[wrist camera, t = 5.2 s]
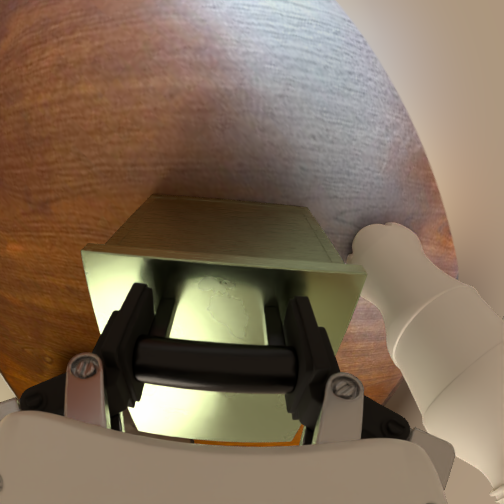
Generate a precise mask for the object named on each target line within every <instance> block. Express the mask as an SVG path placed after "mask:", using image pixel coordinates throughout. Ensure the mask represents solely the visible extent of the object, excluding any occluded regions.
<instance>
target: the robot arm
mask: <svg viewBox="0 0 504 504" xmlns="http://www.w3.org/2000/svg"><path fill="white" fill-rule="evenodd" d="M154 316H155V313H154V303H153V293H152V288H150V287H148V285H147V284H145V283H136V282H135V283H133V285H132V287H131V289H130V291H129V292H128V294H127V296H126V298H125V300H124V302H123V304H122V306H121V308H120V310H119V311H118V310H114V311H113V312H112V314H111V316H110V318H109V320H108V322H107V323H106V325H105V327H104V329H103V331H102V333H101V335H100V337H99V339H98V341H97V343H96V346H95V348H94V350H93V352H92V353H89V352H84V353H79V354H77V355H75V356H74V357H72V358H71V359H70V361H69V362H68V365H67V372H66V373H64V374H61V375H59V376H57V377H54V378H52V379H49V380H47V381H45V382H42V383H40V384H37V385H35V386H32V387H30V388H28V389H27V390H25V391H24V393H23V394H22V396H21V398H20V399H17V398H16V397H15V398H12V399H9V400H6V401H3V402H0V504H448V503H447V500H446V496H445V493H444V490H445V487H446V484H447V481H448V478H449V475H450V472H451V468H452V465H453V462H454V458H455V450H454V447H453V446H452V444H450V443H449V442H447V441H445V440H443V439H440V438H438V437H436V436H434V435H431V434H429V433H427V432H424V431H422V430H420V429H418V428H416V427H415V428H414V429H411V428H410V426H409V424H408V422H407V421H406V419H405V418H403V417H402V416H400V415H399V414H397V413H395V412H393V411H391V410H389V409H388V408H386V407H384V406H382V405H380V404H379V403H377V402H375V401H373V400H372V399H370V398H368V397H366V396H365V395H364V388H363V385H362V383H361V381H360V380H359V379H358V378H357V377H355V376H354V375H352V374H349V373H343V372H340V369H339V366H338V363H337V360H336V357H335V355H334V352H333V349H332V346H331V343H330V340H329V337H328V334H327V331H326V329H325V328H324V327H318V324H317V321H316V318H315V315H314V312H313V309H312V306H311V303H310V300H309V298H308V297H307V296H294V298H293V299H289V302H288V306H287V311H286V315H285V319H284V323H283V331H284V337H285V342H286V346H293V347H294V348H295V350H296V353H297V357H298V379H297V384H296V387H295V390H294V391H293V393H291V394H285V401H286V408H287V412H288V413H292V420H299V422H300V423H301V424H303V425H304V428H303V432H302V436H301V440H300V444H299V446H281V447H235V446H215V445H203V444H192V443H183V442H176V441H168V440H162V439H156V438H150V437H144V436H139V435H134V434H129V433H125V429H124V422H123V414H122V411H124V410H126V409H127V407H131V408H134V407H135V403H136V401H137V402H140V400H141V396H142V392H143V388H144V385H145V383H139V382H137V381H136V380H135V378H134V374H133V366H132V360H133V351H134V346H135V343H136V340H137V338H138V337H139V335H142V334H146V335H148V333H149V330H150V327H151V324H152V321H153V319H154Z"/></svg>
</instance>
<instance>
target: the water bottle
mask: <svg viewBox="0 0 504 504" xmlns="http://www.w3.org/2000/svg"><path fill="white" fill-rule="evenodd" d="M352 250H353V254H348V257H347V261H346V264H352V265H362V266H363V268H364V269H365V271H366V272H367V277H366V280H365V283H364V286H363V289H362V292H361V294H360V296H361V297H362V298H364V299H366V300H367V301H369V302H371V303H372V304H374V305H375V306H376V307H377V308H378V309H379V310H380V312H381V314H382V316H383V320H384V323H385V329H386V336H387V338H386V342H387V348H388V352H389V354H390V356H391V358H392V360H393V362H394V364H395V365H396V366H397V367H398V368H400V370H401V372H402V374H403V376H404V378H405V380H406V382H407V385H408V387H409V389H410V391H411V393H412V395H413V397H414V399H415V401H416V403H417V406H418V408H419V410H420V412H421V414H422V416H423V420H422V423H423V425H424V427H425V428H426V430H427V432H428V433H429V434H431V435H434V436H436V437H438V438H440V439H443V440H445V441H447V442H449V443H450V444H452V446H453V447H454V450H455V456H457V457H458V458H460V459H462V460H464V461H465V462H467V463H469V464H471V465H472V466H474V467H476V468H477V469H478V470H480V471H481V472H482V473H483V474H484V475H485V476H486V478H487V479H488V480H489V481H490V483H491V486H492V488H493V490H492V491H491V492H490V493H489V494H490V496H496V500H495V502H496V503H498V502H499V504H504V321H503V320H502V319H501V318H500V317H499V316H498V315H497V314H496V312H495V311H494V310H493V309H492V308H491V307H490V306H489V305H488V304H487V303H486V302H485V301H484V300H483V299H482V297H481V296H480V295H479V293H478V291H477V289H476V288H475V287H473V286H470V285H467V284H465V283H463V282H461V281H459V280H457V279H455V278H453V277H451V276H449V275H448V274H446V273H445V272H443V271H442V270H441V269H439V268H438V267H437V266H436V265H435V264H433V263H432V262H431V261H430V260H429V258H428V257H427V256H426V255H425V253H424V251H423V248H422V245H421V242H420V240H419V238H418V237H417V235H416V234H415V233H414V232H413V231H411V230H410V229H408V228H407V227H405V226H403V225H401V224H398V223H395V222H390V223H389V222H388V223H386V224H385V225H383V224H372V225H368V226H365V227H364V228H362V229H361V230H360V231H359V232H358V233H357V234H356V236H355V238H354V240H353V243H352Z"/></svg>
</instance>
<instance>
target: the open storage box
mask: <svg viewBox="0 0 504 504" xmlns="http://www.w3.org/2000/svg"><path fill="white" fill-rule="evenodd" d="M104 245H116V246H128V247H139V248H151V249H163V250H175V251H187V252H199V253H211V254H224V255H236V256H249V257H261V258H274V259H287V260H299V261H312V262H325V263H338V264H345V263H344V261H343V260H342V258H341V257H340V255H339V254H338V252H337V251H336V249H335V247H334V246H333V244H332V243H331V241H330V240H329V238H328V237H327V235H326V234H325V232H324V231H323V229H322V228H321V226H320V225H319V224H318V222H317V221H316V219H315V218H314V216H313V215H312V213H311V212H310V210H309V209H308V208H307V207H300V206H291V205H282V204H272V203H263V202H252V201H242V200H230V199H218V198H205V197H190V196H174V195H155V194H152V195H151V196H150V197H149V198H148V199H147V200H146V201H145V202H144V203H143V204H142V205H141V206H140V207H139V208H138V209H137V210H136V211H135V212H134V213H133V214H132V215H131V216H130V217H129V218H128V220H127V221H126V222H125V223H124V224H123V225H122V226H121V227H120V228H119V229H118V230H117V231H116V232H115V233H114V234H113V236H112V237H111V238H110V239H109V240H108V241H107V242H106V243H105V244H104Z"/></svg>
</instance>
